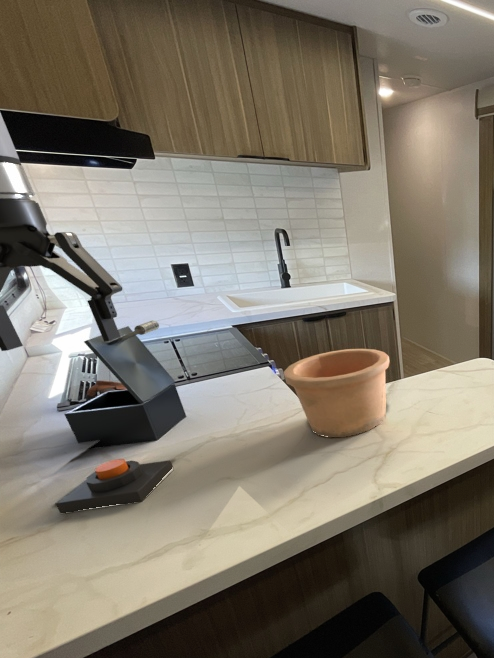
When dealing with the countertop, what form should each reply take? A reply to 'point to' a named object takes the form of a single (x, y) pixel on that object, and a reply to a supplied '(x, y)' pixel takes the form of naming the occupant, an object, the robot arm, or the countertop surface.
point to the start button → (111, 468)
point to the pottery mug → (103, 388)
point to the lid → (132, 361)
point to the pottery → (341, 390)
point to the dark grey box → (125, 418)
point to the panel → (115, 487)
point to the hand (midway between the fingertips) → (63, 343)
